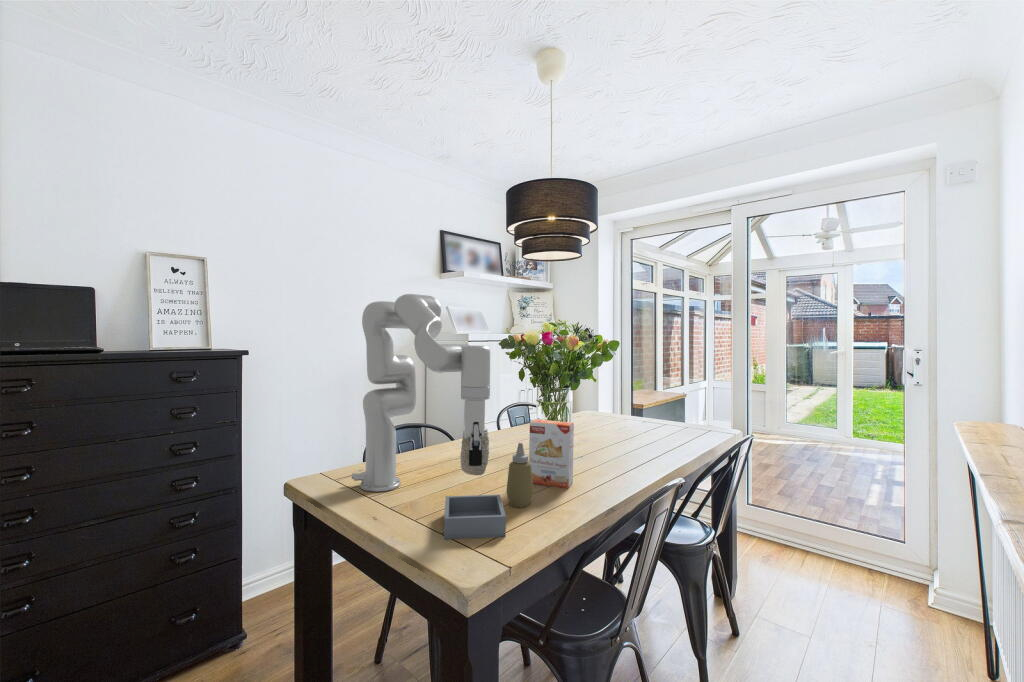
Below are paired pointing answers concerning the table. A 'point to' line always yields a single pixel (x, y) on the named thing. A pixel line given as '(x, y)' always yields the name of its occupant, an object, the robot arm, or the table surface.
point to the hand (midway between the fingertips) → (474, 460)
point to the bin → (474, 517)
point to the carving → (465, 455)
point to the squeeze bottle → (520, 479)
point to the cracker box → (551, 452)
